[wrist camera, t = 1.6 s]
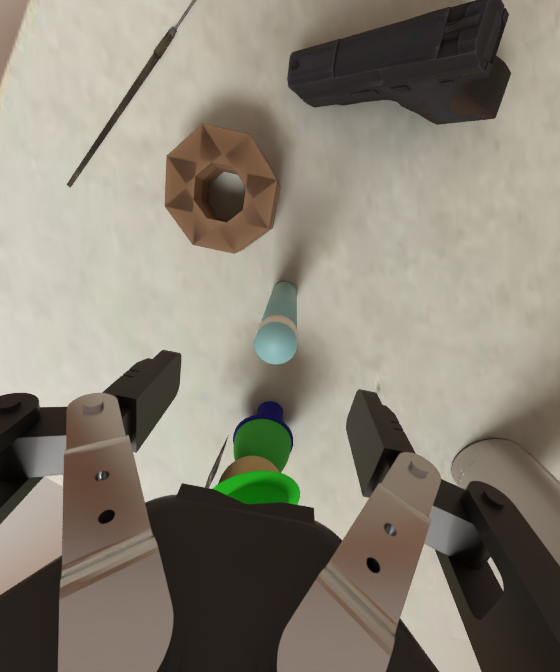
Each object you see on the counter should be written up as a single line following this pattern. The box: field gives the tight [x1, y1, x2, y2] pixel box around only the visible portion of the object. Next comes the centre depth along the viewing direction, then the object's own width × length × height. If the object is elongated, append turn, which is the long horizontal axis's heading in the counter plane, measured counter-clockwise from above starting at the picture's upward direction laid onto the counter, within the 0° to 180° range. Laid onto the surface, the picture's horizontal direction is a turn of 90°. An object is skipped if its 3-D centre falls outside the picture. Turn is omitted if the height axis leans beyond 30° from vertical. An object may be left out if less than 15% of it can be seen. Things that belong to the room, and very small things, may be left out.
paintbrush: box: [67, 0, 196, 187], centre depth 23 cm, size 1×25×1 cm, turn 132°
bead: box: [165, 124, 280, 253], centre depth 25 cm, size 9×9×4 cm
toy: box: [205, 401, 300, 505], centre depth 29 cm, size 9×9×15 cm
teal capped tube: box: [254, 281, 298, 364], centre depth 23 cm, size 3×3×14 cm
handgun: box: [287, 0, 511, 124], centre depth 21 cm, size 3×14×10 cm
